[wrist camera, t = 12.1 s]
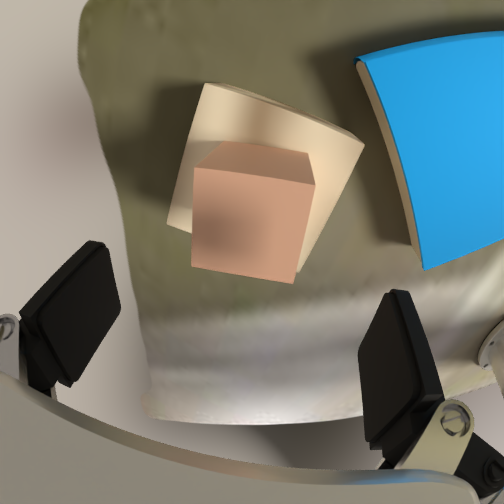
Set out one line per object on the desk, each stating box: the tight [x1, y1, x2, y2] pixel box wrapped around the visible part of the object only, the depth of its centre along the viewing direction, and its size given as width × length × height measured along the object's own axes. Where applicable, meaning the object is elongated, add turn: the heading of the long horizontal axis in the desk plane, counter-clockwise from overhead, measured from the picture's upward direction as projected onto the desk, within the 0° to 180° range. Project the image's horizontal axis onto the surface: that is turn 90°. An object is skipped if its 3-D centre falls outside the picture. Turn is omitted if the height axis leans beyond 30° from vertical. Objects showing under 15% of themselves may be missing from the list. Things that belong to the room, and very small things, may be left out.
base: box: [167, 83, 365, 272], centre depth 20 cm, size 10×10×5 cm
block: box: [192, 141, 316, 284], centre depth 16 cm, size 5×5×6 cm
